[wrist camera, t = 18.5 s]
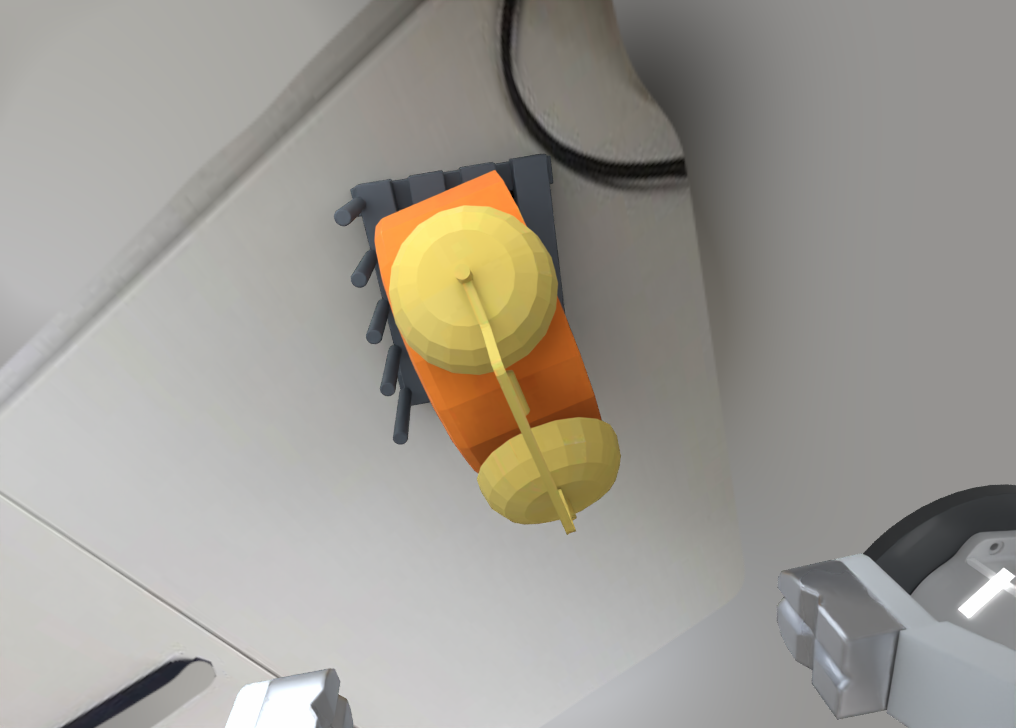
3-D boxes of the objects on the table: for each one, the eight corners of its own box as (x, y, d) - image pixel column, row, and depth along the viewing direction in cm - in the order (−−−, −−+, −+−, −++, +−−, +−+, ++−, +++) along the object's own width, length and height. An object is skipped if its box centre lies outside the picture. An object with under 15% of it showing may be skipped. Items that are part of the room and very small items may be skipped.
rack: (545, 151, 34) (580, 154, 26) (569, 358, 40) (605, 414, 32) (352, 184, 34) (326, 197, 25) (403, 389, 39) (395, 455, 31)
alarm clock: (384, 204, 32) (315, 292, 13) (484, 161, 31) (555, 189, 13) (475, 396, 37) (516, 652, 18) (561, 360, 37) (690, 583, 18)
